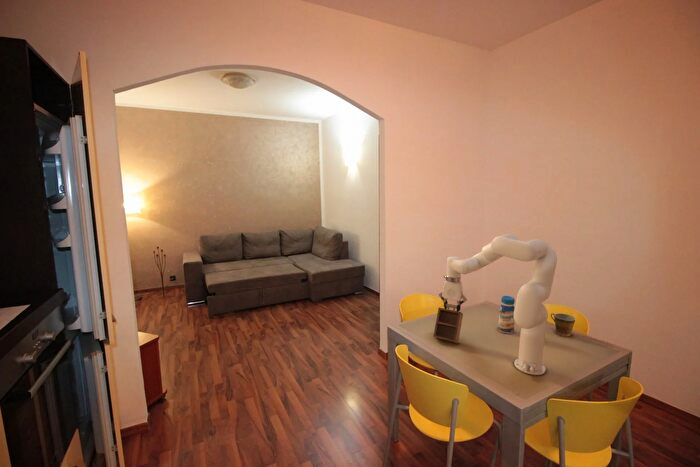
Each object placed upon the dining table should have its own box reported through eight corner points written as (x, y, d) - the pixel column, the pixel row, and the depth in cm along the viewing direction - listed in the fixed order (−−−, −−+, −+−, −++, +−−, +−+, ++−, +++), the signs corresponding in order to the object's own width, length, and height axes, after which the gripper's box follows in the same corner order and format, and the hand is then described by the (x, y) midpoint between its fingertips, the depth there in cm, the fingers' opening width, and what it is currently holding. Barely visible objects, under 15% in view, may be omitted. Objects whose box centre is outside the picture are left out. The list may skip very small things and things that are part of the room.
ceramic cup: (577, 335, 178) (579, 318, 176) (565, 339, 174) (567, 321, 172) (555, 326, 190) (557, 310, 188) (543, 329, 186) (545, 313, 184)
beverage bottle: (514, 329, 186) (516, 296, 183) (513, 335, 179) (515, 301, 176) (498, 326, 191) (500, 294, 188) (497, 331, 183) (499, 298, 180)
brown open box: (455, 342, 166) (461, 305, 171) (433, 336, 173) (439, 301, 178) (458, 343, 171) (464, 307, 176) (436, 337, 178) (442, 303, 183)
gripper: (435, 278, 177) (434, 308, 180) (467, 283, 167) (465, 316, 170) (440, 274, 183) (439, 304, 186) (471, 279, 173) (469, 311, 176)
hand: (451, 309), depth 178 cm, fingers closed on brown open box, 6 cm apart
